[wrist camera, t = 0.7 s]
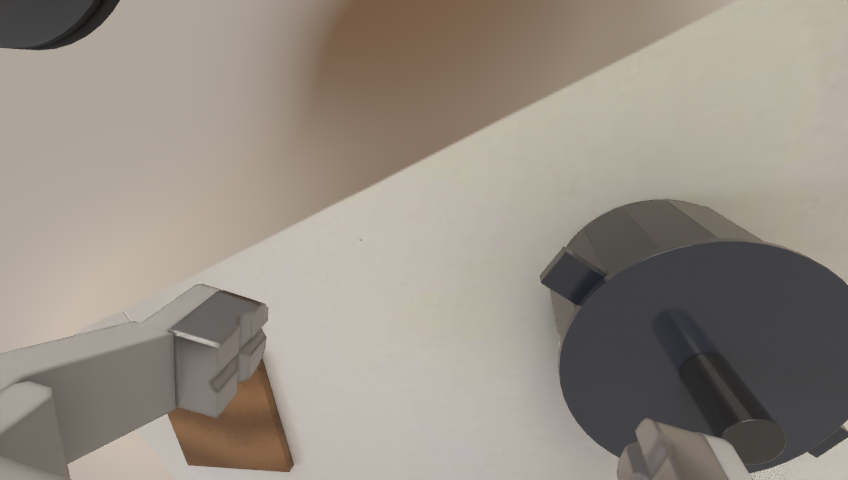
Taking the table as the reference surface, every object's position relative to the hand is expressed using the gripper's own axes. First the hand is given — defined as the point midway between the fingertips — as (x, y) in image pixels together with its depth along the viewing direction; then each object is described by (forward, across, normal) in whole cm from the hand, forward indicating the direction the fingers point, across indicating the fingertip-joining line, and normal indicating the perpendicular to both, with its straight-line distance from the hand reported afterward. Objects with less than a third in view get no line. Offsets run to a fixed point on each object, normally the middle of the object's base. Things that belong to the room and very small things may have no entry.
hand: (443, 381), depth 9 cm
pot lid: (+15, -15, +7) cm, 22 cm away
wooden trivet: (+24, +20, +34) cm, 46 cm away
